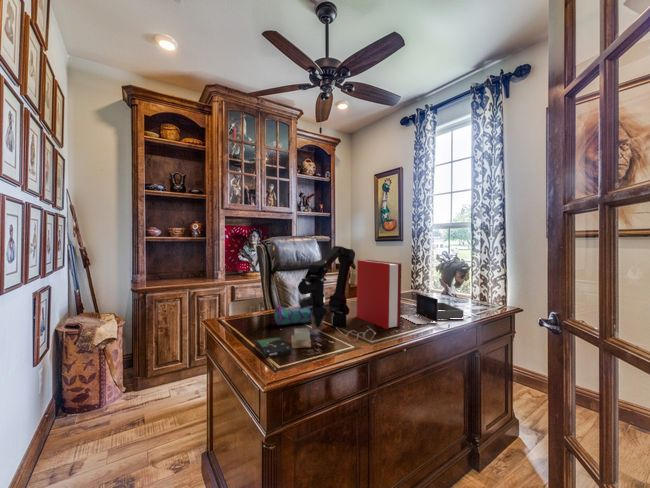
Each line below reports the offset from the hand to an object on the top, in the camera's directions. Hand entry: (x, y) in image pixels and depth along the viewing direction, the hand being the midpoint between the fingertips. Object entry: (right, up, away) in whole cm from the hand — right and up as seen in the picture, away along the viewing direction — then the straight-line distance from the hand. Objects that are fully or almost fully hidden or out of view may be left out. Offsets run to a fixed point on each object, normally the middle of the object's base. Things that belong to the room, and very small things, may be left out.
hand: (317, 325), depth 135 cm
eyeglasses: (+17, -5, +2) cm, 18 cm away
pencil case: (-12, -4, +18) cm, 22 cm away
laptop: (+54, -5, +28) cm, 61 cm away
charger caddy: (+70, -4, +38) cm, 80 cm away
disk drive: (-17, -5, -19) cm, 25 cm away
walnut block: (0, -1, 0) cm, 1 cm away
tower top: (-6, -2, -12) cm, 14 cm away
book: (+31, -4, +23) cm, 39 cm away
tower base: (-6, -5, -12) cm, 14 cm away
